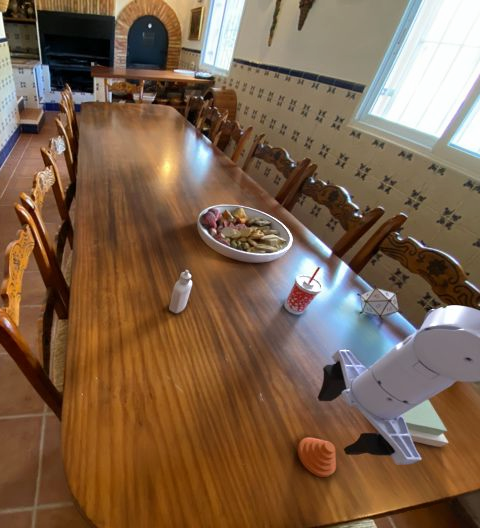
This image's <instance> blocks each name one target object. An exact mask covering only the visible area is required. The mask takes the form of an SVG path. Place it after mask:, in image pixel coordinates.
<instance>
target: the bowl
mask: <svg viewBox="0 0 480 528" xmlns="http://www.w3.org/2000/svg"><path fill="white" fill-rule="evenodd" d="M196 224H197V225H196V226H197V230H198V234H199V236H200V238H201V240H203V242H204V243H205V244H206V245H207V246H208V247H210V248H211V249H212V250H214V251H215V252H217V253H219V254H221V255H222V256H224V257H227V258H229V259H233V260H236V261H239V262H245V263H255V264H256V263H268V262H272V261H275V260H277V259H279V258H281V257H283V256H284V255H285V254H286V253H287V252H288V251H289V250H290V248H291V246H292V243H293V236H292V233H291V232H290V230H289V228H287V227H286V226H285V225H284V224H283V223H282V222H281V221H280V220H278V219H277V218H276V217H273V216H271V215H270V214H268V213H266V212H263V211H261V210H258V209H255V208H251V207H248V206H243V205H237V204H218V205H213V206H210V207H207V208H205V209H203V210H202V211H201V212H200V213H199V214H198V218H197V223H196Z"/></svg>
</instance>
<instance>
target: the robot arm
mask: <svg viewBox="0 0 480 528" xmlns="http://www.w3.org/2000/svg"><path fill="white" fill-rule="evenodd" d="M331 358H332V360H333V362H334V363H333V364H325V365H324V366H323V369H322V370H323V380H322V385H321V389H320V390H319V393H318V396H317V400H318V401H319V402H332V401H334V400H336V399H337V398H338V397H340V396H341V395H342V398H343V399H344V401H345V403H346V404H347V406H349V407H351V408H356V409H357V410H358V411H359V412H360V413H361V414H362V415H363V416H364V417H365V419H366V420H367V421H368V422H369V423H370V424H371V425H372V426H373V428H374V429H375V430H377V432H362V433H360V435H359V437H358V438H357V440H355V441H354V442H353V443H350V444H349V445H347V446H345V447H343V451H344V453H345V455H347V456H359V455H364V454H369V455H373V456H382V457H383V456H386V457H387V456H390V457H391V459H392V460H393V462H394V464H395V465H413V464H415V463H418V462H420V461H422V460H423V458H422V457H421V454H420V453H419V452H418V450H417V448H416V446H415V443H414V441H412V439H411V436H410V433H409V430H408V428H407V425H406V422H405V420H404V417H403V414H404V413H405V412H407V411H409V410H410V409H412V408H414V407H416V406H417V405H419V404H421V403H422V402H424V401H426V400H429V399H432V398H433V397H434V396H436V395H438V394H440V393H441V392H443V391H445V390H446V389H448V388H450V387H451V386H453V384H454V383H456V382H461V383H462V382H463V383H477V382H480V310H479V309H476V308H473V307H469V306H466V305H465V306H464V305H447V306H446V307H443V306H441V307H438V308H435V309H434V308H432V309H431V308H430V309H429V310H428V311H427V313H426V314H425V316H424V319H423V323H422V325H421V326H420V328H419V329H417V330H416V331H415V332H414V333H412V334H411V335H408V336H407V337H406V338H404V339H403V340H402V341H399V342H398V343H397V344H396V345H394V346H393V347H392V348H391V349H390V350H388V351H387V352H386V353H385V354H383V355H382V356H381V357H380V358H379V359H377V360H376V361H375V362H374V363H372V365H370V366H369V367H368V368H366V366H364V364H362V363H361V362H360V360H358V359H357V358H356V356H355V355H354V354H353V353H352V351H351V350H347V349H338V350H337V351H336V352H335V353H333V354H332V356H331Z"/></svg>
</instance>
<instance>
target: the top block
mask: <svg viewBox="0 0 480 528" xmlns="http://www.w3.org/2000/svg"><path fill="white" fill-rule="evenodd" d="M403 417H404V420H405V422H406V425H407V428H408V429H410V430H415V431H420V432H425V433H430V434H434V435H441V434H445V433H447V432H448V430H447V427H446V426H445V424H444V423H443V420H442V419H441V418H440V416H439V415H438V413H437V411H436V410H435V408H434V407H433V404H432V403H431V401H430V400H429V399H428V400H426V401H424V402H422V403H421V404H419V405H417V406H416V407H414V408H412V409H410V410H409V411H407V412H405V413H404V414H403Z"/></svg>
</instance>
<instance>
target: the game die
mask: <svg viewBox="0 0 480 528" xmlns="http://www.w3.org/2000/svg"><path fill="white" fill-rule="evenodd" d="M373 287H374V288H372V289H370V290H368V291H366V292H364V293H361V294H360V293H356V295H357V296H358V297H359V298H360V304H361V311H359V315H362V314H363V313H364V314H366V315H367V314H368V315H370V316H373V317H377V318H379V319H380V321H382V322H383V321H384V318H386V317H388V316H391V315H393V314H394V315H395V314H397V313H398V314H404V312H403V311H402V310H400V308H399V303H398V298H397V297H398V296H397V295H398V294H400V291H396V292H393V291H389V290H386V289H382V288H379V287H378V285H376V284H374V286H373Z"/></svg>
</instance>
